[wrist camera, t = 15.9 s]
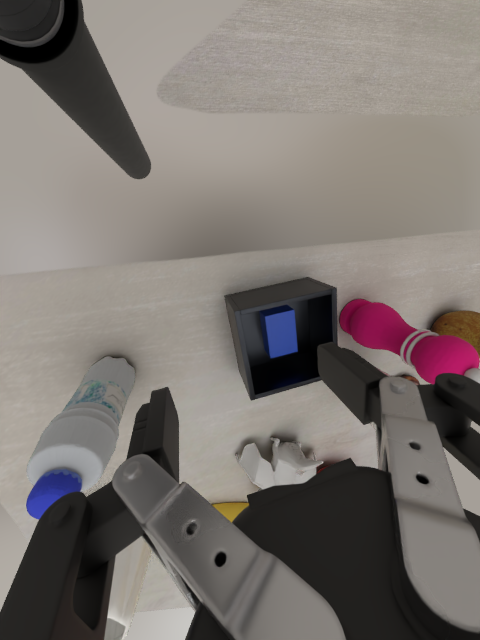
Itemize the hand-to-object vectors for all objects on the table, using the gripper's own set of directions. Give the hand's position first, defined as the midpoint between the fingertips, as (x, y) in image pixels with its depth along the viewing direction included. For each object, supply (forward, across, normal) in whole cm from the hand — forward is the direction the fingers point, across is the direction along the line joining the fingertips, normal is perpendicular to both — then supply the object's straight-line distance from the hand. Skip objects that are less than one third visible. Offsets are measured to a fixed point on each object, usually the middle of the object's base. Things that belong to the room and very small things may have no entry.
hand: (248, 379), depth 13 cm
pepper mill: (+24, -24, +11) cm, 36 cm away
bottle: (+25, +16, +10) cm, 31 cm away
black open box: (+24, -9, +9) cm, 27 cm away
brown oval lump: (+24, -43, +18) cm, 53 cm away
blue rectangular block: (+23, -9, +9) cm, 27 cm away
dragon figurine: (+24, -6, +38) cm, 45 cm away
